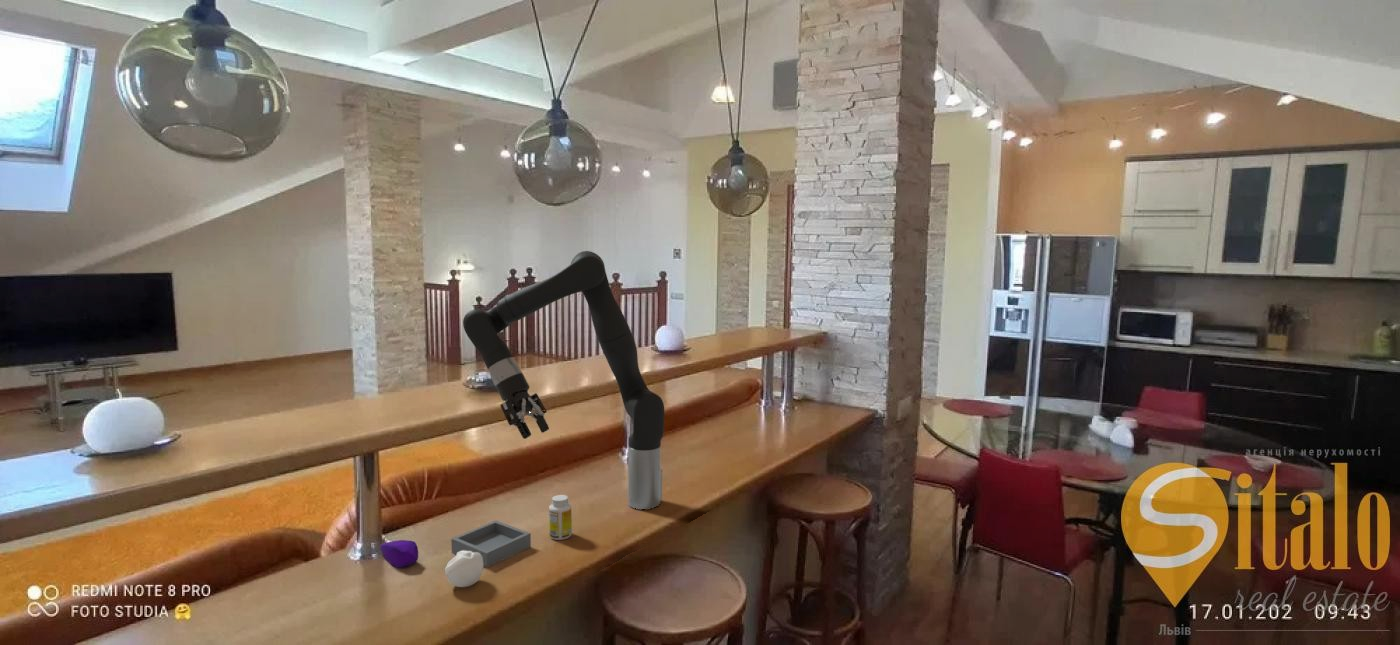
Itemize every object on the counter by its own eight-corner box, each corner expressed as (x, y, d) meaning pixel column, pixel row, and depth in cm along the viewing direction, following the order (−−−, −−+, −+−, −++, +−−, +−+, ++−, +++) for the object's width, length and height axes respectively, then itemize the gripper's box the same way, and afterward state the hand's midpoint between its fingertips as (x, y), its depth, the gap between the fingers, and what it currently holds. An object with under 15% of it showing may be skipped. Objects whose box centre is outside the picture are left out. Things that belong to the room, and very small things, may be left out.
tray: (496, 533, 166) (495, 520, 166) (530, 546, 159) (530, 533, 159) (451, 552, 156) (451, 538, 155) (486, 567, 148) (486, 553, 148)
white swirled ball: (472, 572, 146) (471, 539, 145) (491, 583, 141) (491, 550, 141) (439, 586, 140) (438, 552, 139) (457, 598, 135) (456, 563, 134)
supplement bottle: (572, 531, 168) (572, 493, 167) (570, 540, 163) (570, 501, 162) (550, 531, 168) (550, 493, 167) (547, 541, 162) (547, 502, 161)
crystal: (389, 532, 158) (424, 543, 149) (391, 552, 158) (426, 564, 149) (370, 539, 154) (404, 550, 145) (372, 559, 154) (406, 572, 145)
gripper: (503, 374, 161) (532, 432, 159) (534, 369, 174) (562, 422, 172) (481, 389, 163) (510, 446, 161) (513, 382, 176) (540, 435, 174)
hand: (537, 434), depth 166 cm, fingers open, 8 cm apart
